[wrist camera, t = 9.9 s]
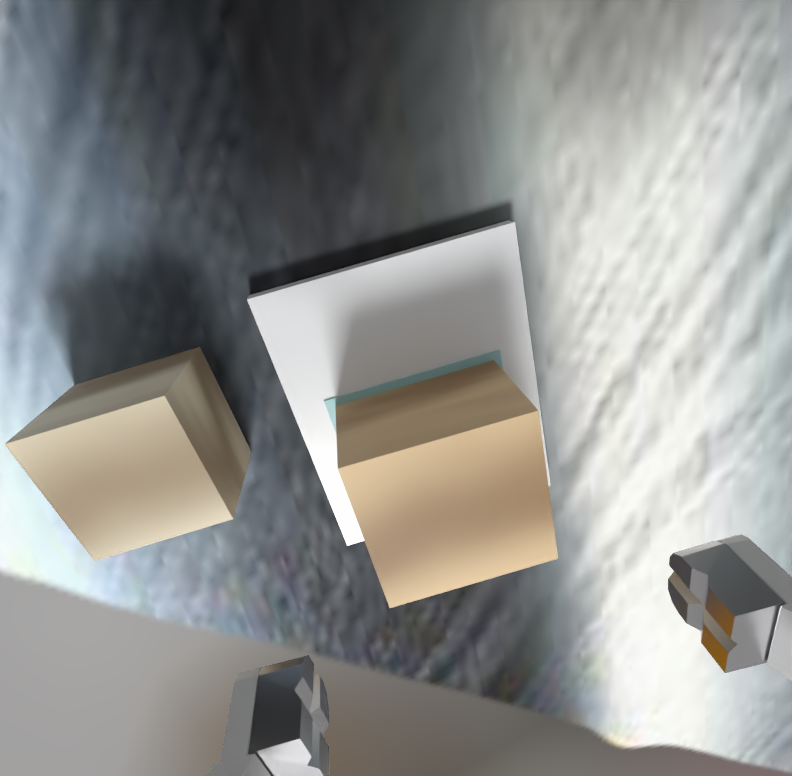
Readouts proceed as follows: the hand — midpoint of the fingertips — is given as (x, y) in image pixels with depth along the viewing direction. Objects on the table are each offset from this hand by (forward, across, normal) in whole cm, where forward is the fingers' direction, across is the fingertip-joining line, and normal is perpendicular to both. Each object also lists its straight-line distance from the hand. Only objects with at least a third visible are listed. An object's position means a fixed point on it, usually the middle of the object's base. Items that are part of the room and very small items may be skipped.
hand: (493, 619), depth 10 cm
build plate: (+9, 0, -1) cm, 9 cm away
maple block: (+9, +9, -2) cm, 13 cm away
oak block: (+8, 0, +1) cm, 9 cm away
